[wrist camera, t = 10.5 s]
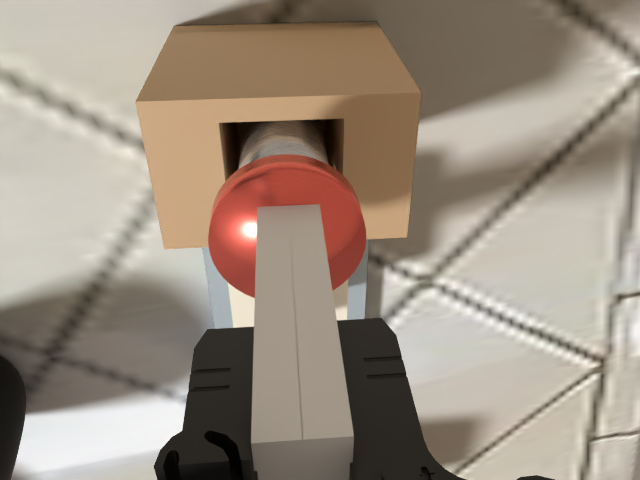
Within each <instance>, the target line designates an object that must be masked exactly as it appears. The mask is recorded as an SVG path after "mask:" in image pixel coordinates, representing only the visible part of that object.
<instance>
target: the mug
mask: <svg viewBox="0 0 640 480" xmlns="http://www.w3.org/2000/svg"><path fill="white" fill-rule="evenodd" d="M25 411H26V394H25V388H24V384H23V381H22V378H21V376H20V375H19V373H18V371H17V370H16V369H15V368H14V367H13V365H12V364H11V363H9V362H8V361H7V360H6V359H5V358H3V357H2V356H0V480H11V476H12V473H13V469H14V465H15V462H16V458H17V454H18V449H19V445H20V441H21V436H22V431H23V426H24V420H25Z"/></svg>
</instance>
